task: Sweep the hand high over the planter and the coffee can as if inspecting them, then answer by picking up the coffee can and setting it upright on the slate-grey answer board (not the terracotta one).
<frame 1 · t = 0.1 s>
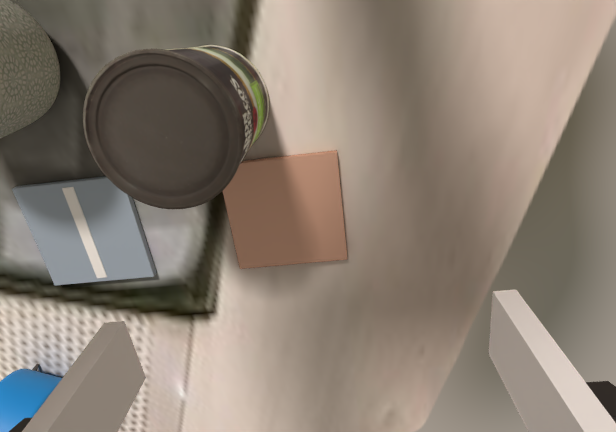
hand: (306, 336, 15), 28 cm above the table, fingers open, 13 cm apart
pad A: (89, 231, 45), on the table
planter: (16, 59, 38), on the table
coffee can: (216, 101, 39), on the table
pad B: (285, 211, 43), on the table
alarm clock: (53, 385, 55), on the table
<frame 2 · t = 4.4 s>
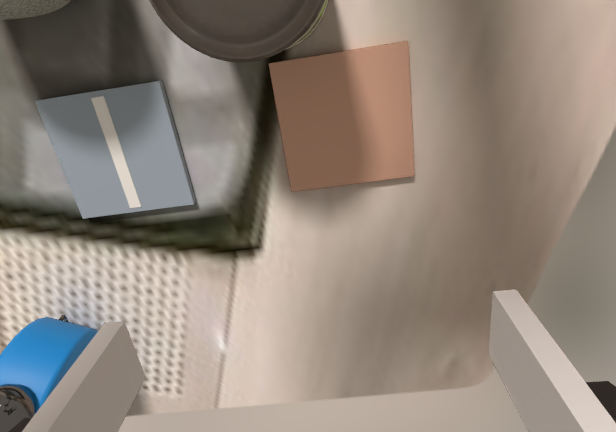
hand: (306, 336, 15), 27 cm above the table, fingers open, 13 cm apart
pad A: (121, 152, 40), on the table
pad B: (344, 120, 38), on the table
alarm clock: (81, 339, 50), on the table
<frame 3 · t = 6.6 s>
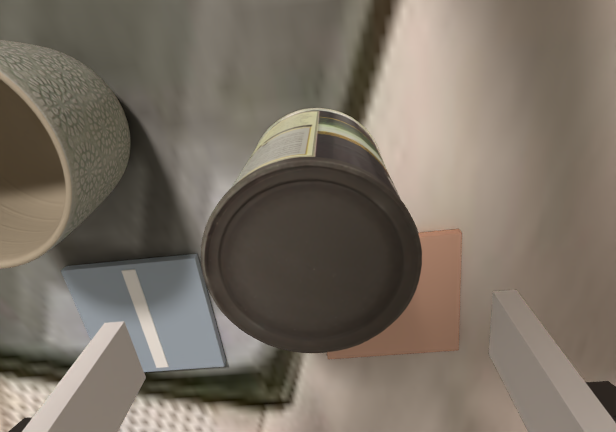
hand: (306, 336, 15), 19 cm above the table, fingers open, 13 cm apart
pad A: (150, 315, 38), on the table
planter: (72, 123, 31), on the table
coffee can: (316, 172, 32), on the table
pad B: (388, 296, 36), on the table
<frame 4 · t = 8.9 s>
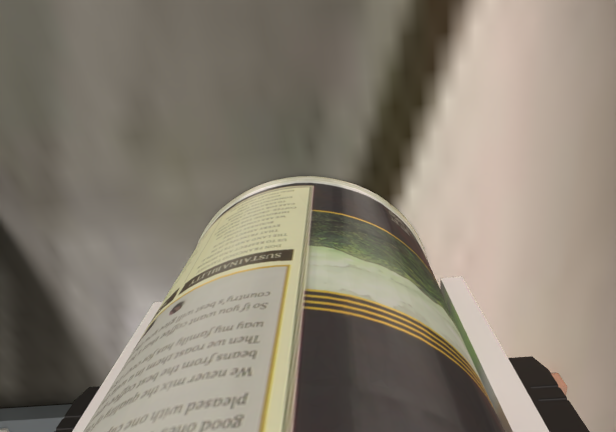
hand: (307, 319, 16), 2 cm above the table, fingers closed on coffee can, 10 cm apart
coffee can: (308, 283, 18), on the table, touching gripper
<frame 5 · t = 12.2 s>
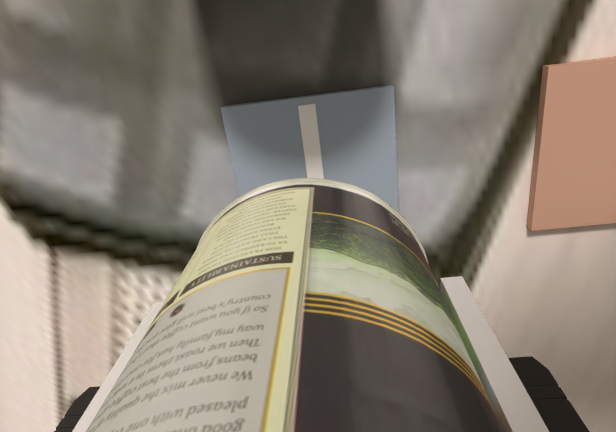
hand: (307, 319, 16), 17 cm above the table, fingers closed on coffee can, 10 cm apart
pad A: (316, 176, 31), on the table
coffee can: (308, 284, 18), point 15 cm above the table, touching gripper
when the fingers open (4 cm above the table, at t = 15.3 s): coffee can drops 1 cm, resting on pad A.
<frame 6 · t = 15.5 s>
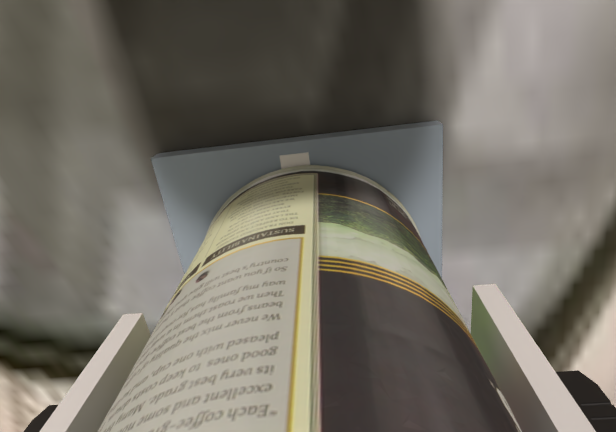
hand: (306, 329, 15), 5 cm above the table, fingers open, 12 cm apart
pad A: (311, 259, 20), on the table
coffee can: (311, 266, 19), point 1 cm above the table, touching pad A
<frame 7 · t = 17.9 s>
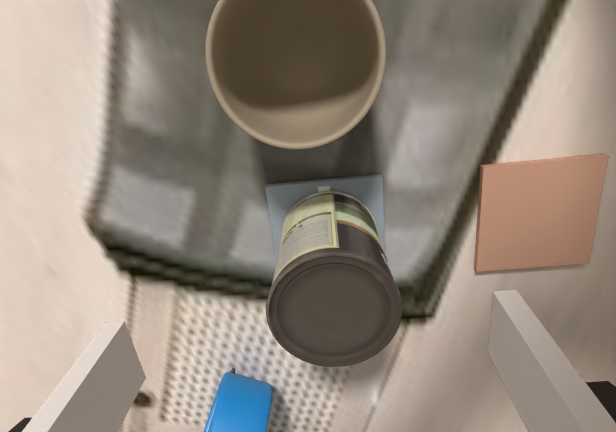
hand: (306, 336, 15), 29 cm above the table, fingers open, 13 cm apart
pad A: (328, 231, 45), on the table
planter: (301, 56, 38), on the table
coffee can: (328, 233, 44), point 1 cm above the table, touching pad A
pad B: (534, 214, 43), on the table
alarm clock: (242, 390, 54), on the table
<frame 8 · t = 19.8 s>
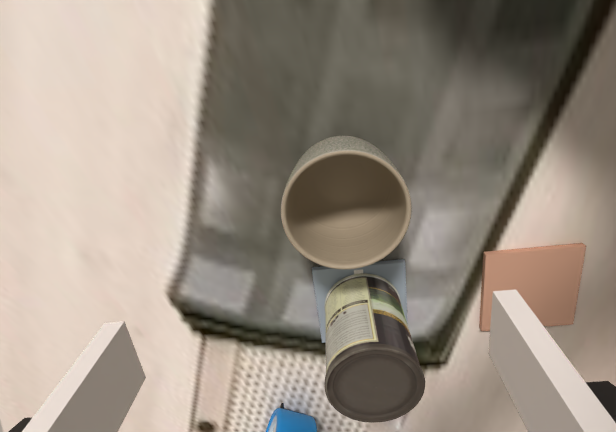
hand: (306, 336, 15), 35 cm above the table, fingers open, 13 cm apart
pad A: (361, 301, 56), on the table
planter: (341, 176, 49), on the table
coffee can: (361, 304, 55), point 1 cm above the table, touching pad A
pad B: (528, 287, 54), on the table
alarm clock: (288, 419, 66), on the table
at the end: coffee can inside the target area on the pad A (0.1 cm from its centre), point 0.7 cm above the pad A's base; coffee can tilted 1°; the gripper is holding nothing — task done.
